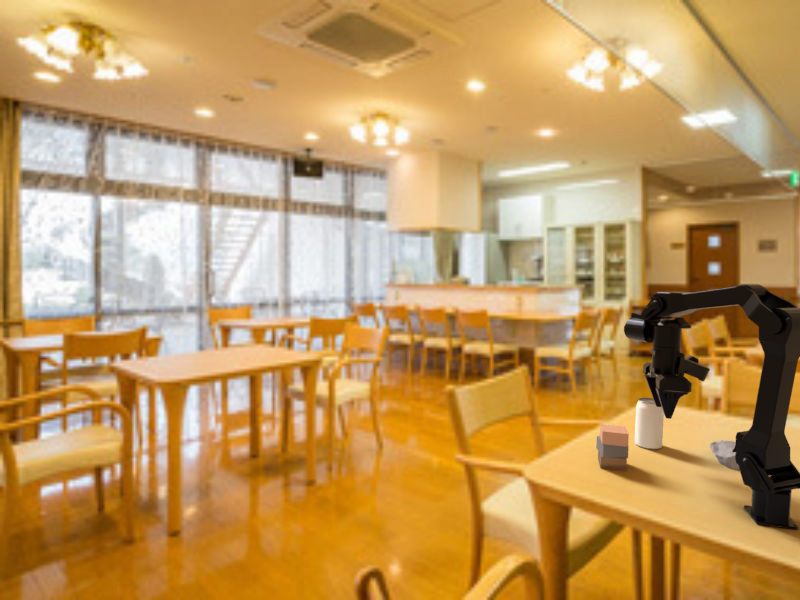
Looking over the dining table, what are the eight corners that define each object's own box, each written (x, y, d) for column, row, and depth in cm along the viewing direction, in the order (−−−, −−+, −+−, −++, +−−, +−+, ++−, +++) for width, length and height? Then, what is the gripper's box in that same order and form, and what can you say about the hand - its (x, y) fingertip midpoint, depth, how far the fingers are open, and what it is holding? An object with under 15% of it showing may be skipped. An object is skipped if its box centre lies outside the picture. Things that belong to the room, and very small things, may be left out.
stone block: (728, 477, 111) (775, 472, 110) (724, 457, 111) (771, 452, 110) (705, 459, 123) (747, 454, 121) (701, 441, 123) (744, 436, 121)
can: (647, 451, 122) (649, 404, 121) (628, 442, 128) (630, 398, 127) (668, 448, 124) (670, 403, 123) (648, 439, 130) (650, 396, 129)
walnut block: (626, 472, 110) (626, 459, 110) (600, 468, 112) (600, 456, 111) (622, 462, 115) (622, 450, 115) (597, 459, 117) (598, 447, 117)
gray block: (627, 458, 110) (628, 445, 110) (603, 457, 111) (603, 444, 111) (620, 449, 116) (620, 437, 116) (596, 448, 116) (596, 436, 116)
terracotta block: (628, 446, 109) (628, 434, 109) (602, 444, 111) (602, 431, 111) (624, 438, 115) (625, 426, 114) (599, 436, 116) (600, 423, 116)
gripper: (721, 355, 99) (717, 429, 101) (693, 341, 117) (690, 404, 118) (661, 352, 103) (658, 423, 104) (643, 339, 120) (640, 400, 122)
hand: (663, 412), depth 112 cm, fingers open, 9 cm apart
